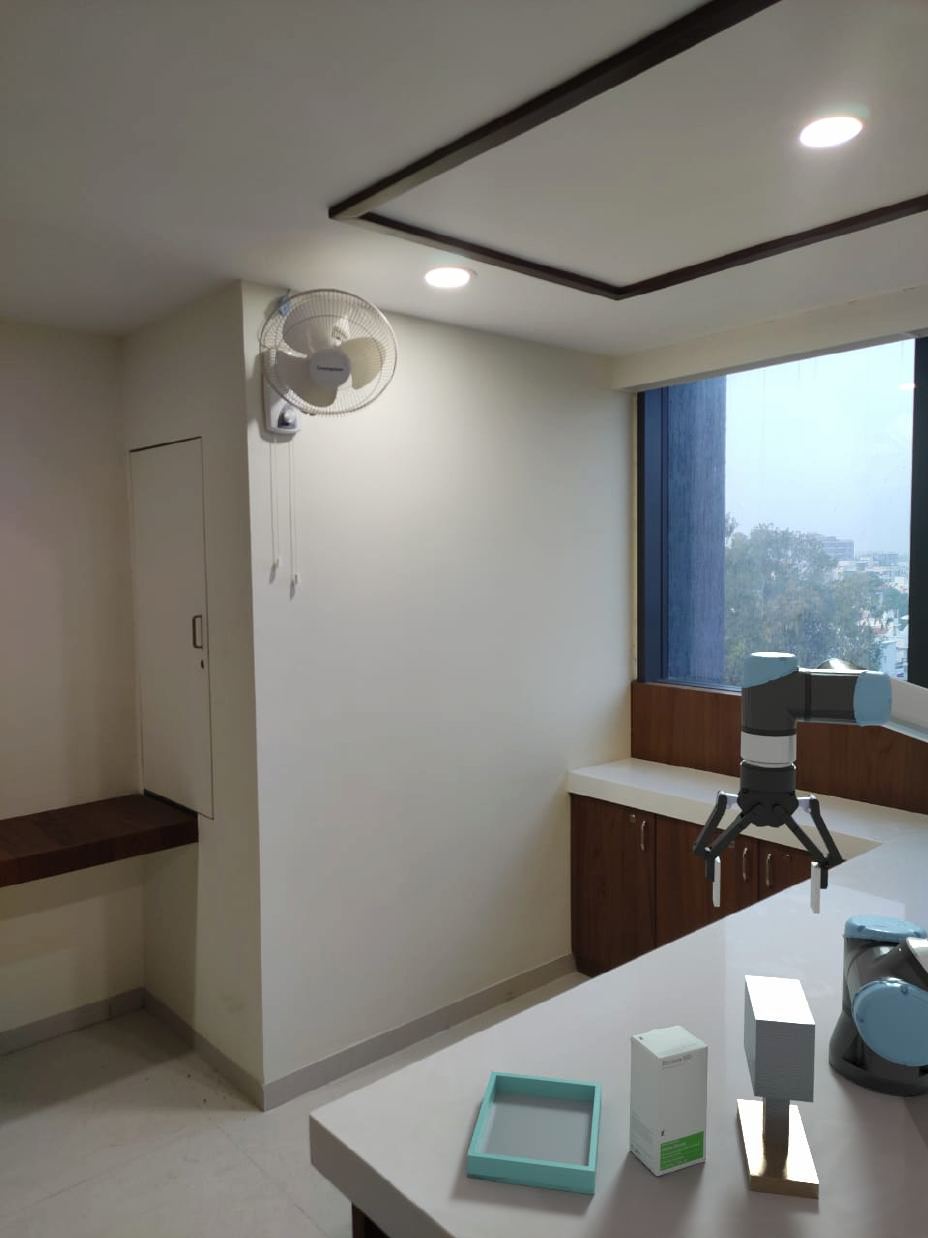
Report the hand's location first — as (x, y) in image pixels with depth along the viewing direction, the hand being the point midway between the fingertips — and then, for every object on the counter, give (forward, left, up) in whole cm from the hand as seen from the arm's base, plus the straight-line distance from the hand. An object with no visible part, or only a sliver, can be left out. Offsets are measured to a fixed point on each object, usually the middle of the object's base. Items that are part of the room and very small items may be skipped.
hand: (765, 907), depth 130 cm
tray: (+31, +16, -28) cm, 45 cm away
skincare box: (+14, +16, -28) cm, 36 cm away
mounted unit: (0, +13, -28) cm, 31 cm away
